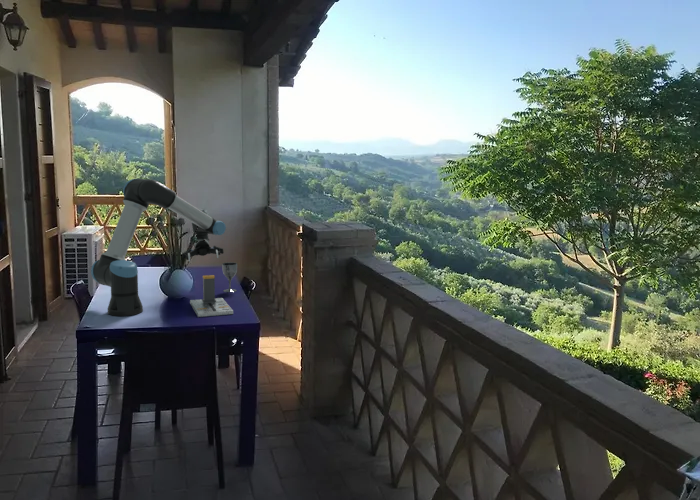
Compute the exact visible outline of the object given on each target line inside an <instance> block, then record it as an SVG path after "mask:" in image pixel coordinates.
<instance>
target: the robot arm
mask: <svg viewBox="0 0 700 500" xmlns="http://www.w3.org/2000/svg"><path fill="white" fill-rule="evenodd" d="M122 194H123V199H122V202H123V205H124V206H123V208H122V212H121V213H120V217H119V219H118V222H117V224H116V227H115V229H114V231H113V234H112V237H111V238H110V242H109V244H108V246H107V249H106V251H105V252H103V253H101V255H100V257H99V259H97V260H96V261H94V262H93V263H92V265H91V269H90V276H91V277H92V279H93V280H94V281H95V282H96V283H98V284H100V285H102V286H107V287H110V300H109V302H108V306H107V315H109V314H110V316H113V317H128V316H135V315H138V314H141V313H143V311H144V309H143V308H144V307H143V303H142V301H141V299H140V296H139V273H138V272H139V270H138V266H137V263H136V262H134V261H132V260H126V255H127V253H128V250H129V247H130V245H131V241H132V240H133V237H134V234H135V232H136V229H137V226H138V224H139V221H140V218H141V217H142V214H143V212H145V211H147V210H148V207H149V205H155V206H158V207H161V208H162V209H166V210H167V209H169V210H170V211H172V212H173V213H176V214H177V215H178V216H180V217H182V218H183V219H185V220H187V221H189V222H191V226H192V233H193V234H194V233H195V231H196V228H197V226H198V229H197V231H196V233H197V235H196V237H197V239H198V242H197V243H195V244H194V249H193V248H188V249H187V250H185V251H184V252H182V253H181V255H182V259H185V260H188V262H189V263H190V262H191V258H192V257H194V256H203V257H204V256H206V255H210V254H211V255H216V259H219V257H220V255H222V254H224V248H222V247H219V246H217V245H213V246H212V247H211V246H210V240H209V235H214V236H222V235H223V234H225V231H226V230H227V229H226V228H227V227H226V223H224V222H223V221H221V220H217V219H215V218H214V217H211V216H210V215H209V214H207V213H205V212H204V211H202V210H200V209H199V208H198V207H196V206H194V205H193V204H191V203H189V202H188V201H186V200H185V199H183V198H182V197H180V196H178V194H177V193H176V191H174V190H173V189H171V188H169V187H168V186H166V185H165V184H163V183H161V182H160V181H157V180H156V179H149V178H148V179H147V178H146V179H145V178H141V177H139V178H138V177H137V178H131V179H130V180H128V181H126V182H125V184H124V185H123V188H122ZM203 240H205V241H203Z"/></svg>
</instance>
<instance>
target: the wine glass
mask: <svg viewBox="0 0 700 500" xmlns="http://www.w3.org/2000/svg"><path fill="white" fill-rule="evenodd" d="M221 268H222V273H223V276H225V278H226V279H227V281H228V285H229V286H228V289H227V288H226V289H223V290H222V291H223V292H225V293H235V292H237V289H235V288H231V286H232V285H231V284H232V280H233V278H234V277H235V276H236V274H237V272H238V262H232V261H230V262H223V263H222V264H221Z"/></svg>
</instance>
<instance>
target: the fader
mask: <svg viewBox="0 0 700 500" xmlns="http://www.w3.org/2000/svg"><path fill="white" fill-rule="evenodd" d="M215 283H216V282H215V275H214V274H207V275H205V274H204V275H202V295H203V296H202V297H203V298H202V302H203V303H216V300H215V298H216V291H215V288H216V287H215Z"/></svg>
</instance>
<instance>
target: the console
mask: <svg viewBox="0 0 700 500" xmlns="http://www.w3.org/2000/svg"><path fill="white" fill-rule="evenodd" d="M202 299H203V298H202ZM202 299H190V300H189V304H190V306H191V308H192V310H193V311H194V312H195V314H196V316H197V318H202V317H203V318H204V317H214V316H215V317H216V316H225V315H226V316H229V315H234V309H232V307H231V306H230V305H229V304H228V302H227V301H226V300H225V299H224V298H223V297H217V298H216V297H215V300H216V303H203V302H202Z"/></svg>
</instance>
